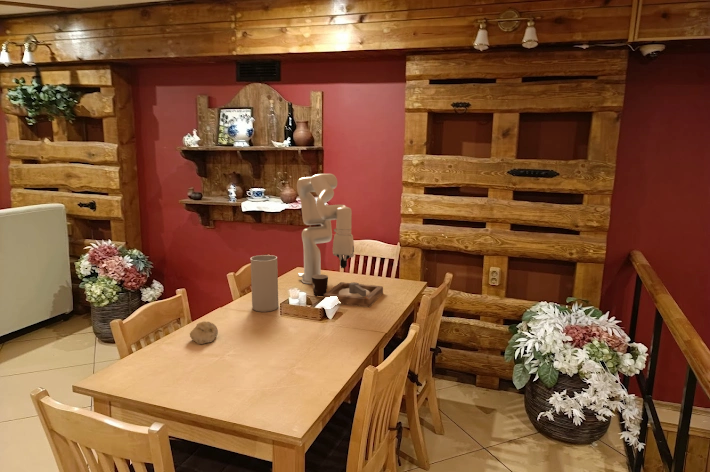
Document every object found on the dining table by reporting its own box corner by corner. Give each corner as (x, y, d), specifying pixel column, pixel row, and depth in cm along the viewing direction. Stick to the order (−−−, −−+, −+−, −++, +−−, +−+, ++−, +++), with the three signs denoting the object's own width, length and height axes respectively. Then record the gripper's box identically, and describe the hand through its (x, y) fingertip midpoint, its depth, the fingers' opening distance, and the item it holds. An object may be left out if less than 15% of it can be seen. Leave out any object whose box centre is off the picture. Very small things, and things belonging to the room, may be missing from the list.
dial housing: (323, 302, 253) (323, 294, 253) (340, 289, 276) (340, 281, 275) (369, 307, 245) (369, 299, 245) (382, 293, 268) (383, 285, 267)
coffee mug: (327, 297, 261) (327, 278, 259) (311, 297, 261) (310, 278, 259) (329, 290, 272) (329, 273, 271) (313, 290, 273) (313, 272, 271)
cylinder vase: (246, 309, 242) (244, 259, 237) (263, 302, 252) (261, 254, 248) (267, 314, 236) (266, 262, 231) (283, 306, 247) (282, 256, 242)
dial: (334, 291, 264) (334, 281, 263) (362, 288, 270) (362, 278, 269) (349, 303, 245) (349, 292, 244) (378, 299, 252) (379, 288, 250)
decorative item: (193, 324, 211) (214, 315, 210) (202, 343, 211) (223, 334, 210) (181, 331, 199) (204, 321, 198) (190, 351, 199) (213, 342, 198)
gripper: (327, 232, 249) (326, 267, 253) (355, 234, 244) (354, 271, 248) (332, 229, 256) (332, 264, 260) (360, 231, 251) (359, 267, 255)
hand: (343, 267), depth 254 cm, fingers closed
